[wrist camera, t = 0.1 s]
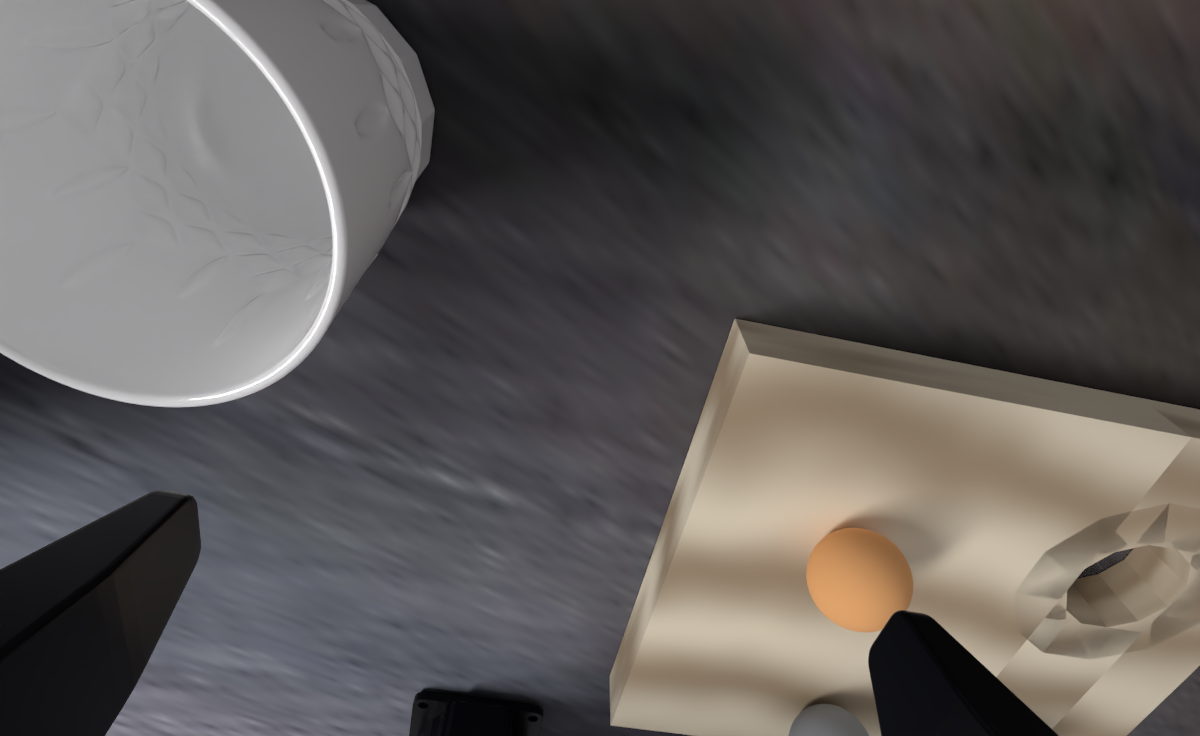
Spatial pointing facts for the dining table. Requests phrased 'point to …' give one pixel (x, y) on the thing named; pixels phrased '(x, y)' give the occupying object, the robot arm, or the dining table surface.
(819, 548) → the ball
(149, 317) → the white cup
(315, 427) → the dining table surface
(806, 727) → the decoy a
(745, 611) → the board
